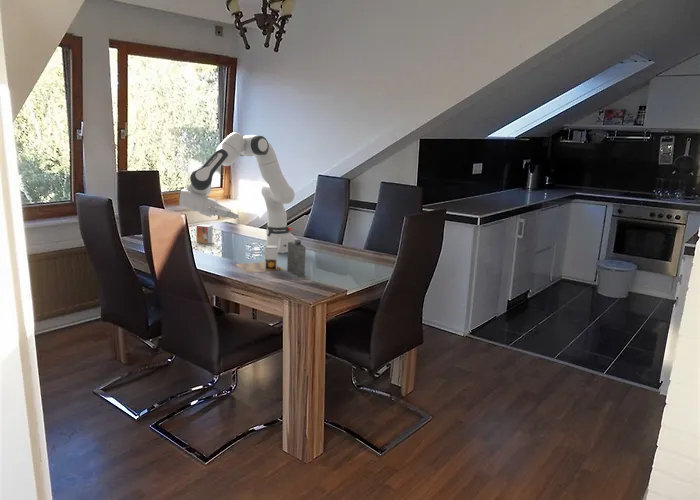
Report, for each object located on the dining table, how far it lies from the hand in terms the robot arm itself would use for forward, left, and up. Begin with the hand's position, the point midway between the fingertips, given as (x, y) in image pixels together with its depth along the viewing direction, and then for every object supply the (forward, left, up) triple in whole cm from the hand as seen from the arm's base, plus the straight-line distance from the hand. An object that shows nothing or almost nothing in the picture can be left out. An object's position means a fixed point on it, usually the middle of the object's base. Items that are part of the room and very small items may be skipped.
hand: (237, 217), depth 272 cm
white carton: (-14, +11, -24) cm, 30 cm away
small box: (+2, -62, -26) cm, 67 cm away
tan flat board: (-9, +8, -26) cm, 28 cm away
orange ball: (-14, +11, -23) cm, 29 cm away
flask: (-22, +25, -26) cm, 42 cm away
